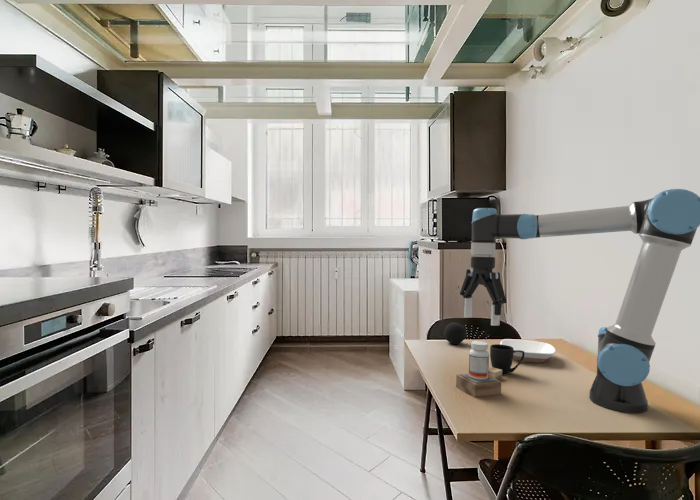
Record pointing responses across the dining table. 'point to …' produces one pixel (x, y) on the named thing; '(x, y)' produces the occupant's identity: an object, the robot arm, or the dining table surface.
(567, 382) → the dining table surface
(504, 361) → the mug
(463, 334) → the speaker
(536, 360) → the bowl
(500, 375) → the oak offcut
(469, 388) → the walnut stand
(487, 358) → the pill bottle
